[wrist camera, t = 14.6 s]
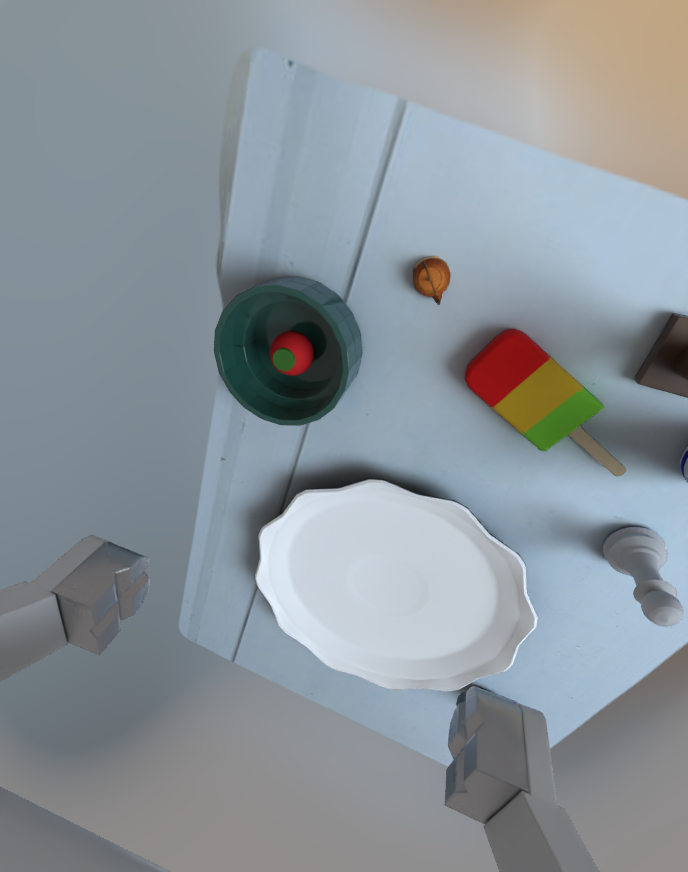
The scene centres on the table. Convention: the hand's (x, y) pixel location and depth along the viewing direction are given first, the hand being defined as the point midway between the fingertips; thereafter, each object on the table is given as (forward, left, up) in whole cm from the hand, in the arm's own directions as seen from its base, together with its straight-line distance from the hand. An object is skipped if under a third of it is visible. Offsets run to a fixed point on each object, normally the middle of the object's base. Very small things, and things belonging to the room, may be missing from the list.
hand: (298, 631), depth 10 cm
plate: (+27, +4, -28) cm, 39 cm away
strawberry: (+4, -10, -27) cm, 29 cm away
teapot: (-4, -1, -28) cm, 29 cm away
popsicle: (+3, +12, -28) cm, 31 cm away
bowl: (+3, -10, -28) cm, 30 cm away
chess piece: (+13, +23, -28) cm, 38 cm away
